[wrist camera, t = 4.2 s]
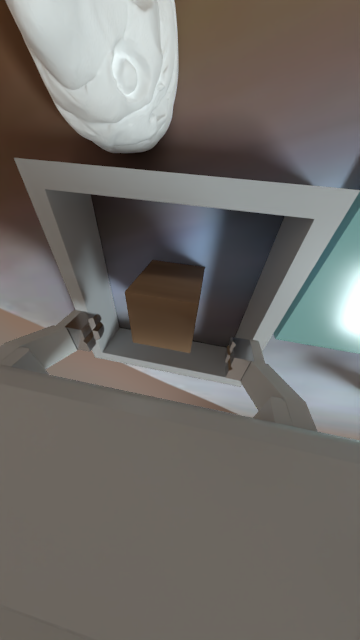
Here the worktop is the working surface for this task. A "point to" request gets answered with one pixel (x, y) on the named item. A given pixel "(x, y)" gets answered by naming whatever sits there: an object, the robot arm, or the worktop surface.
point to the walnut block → (165, 305)
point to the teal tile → (330, 294)
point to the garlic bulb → (106, 65)
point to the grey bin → (197, 190)
